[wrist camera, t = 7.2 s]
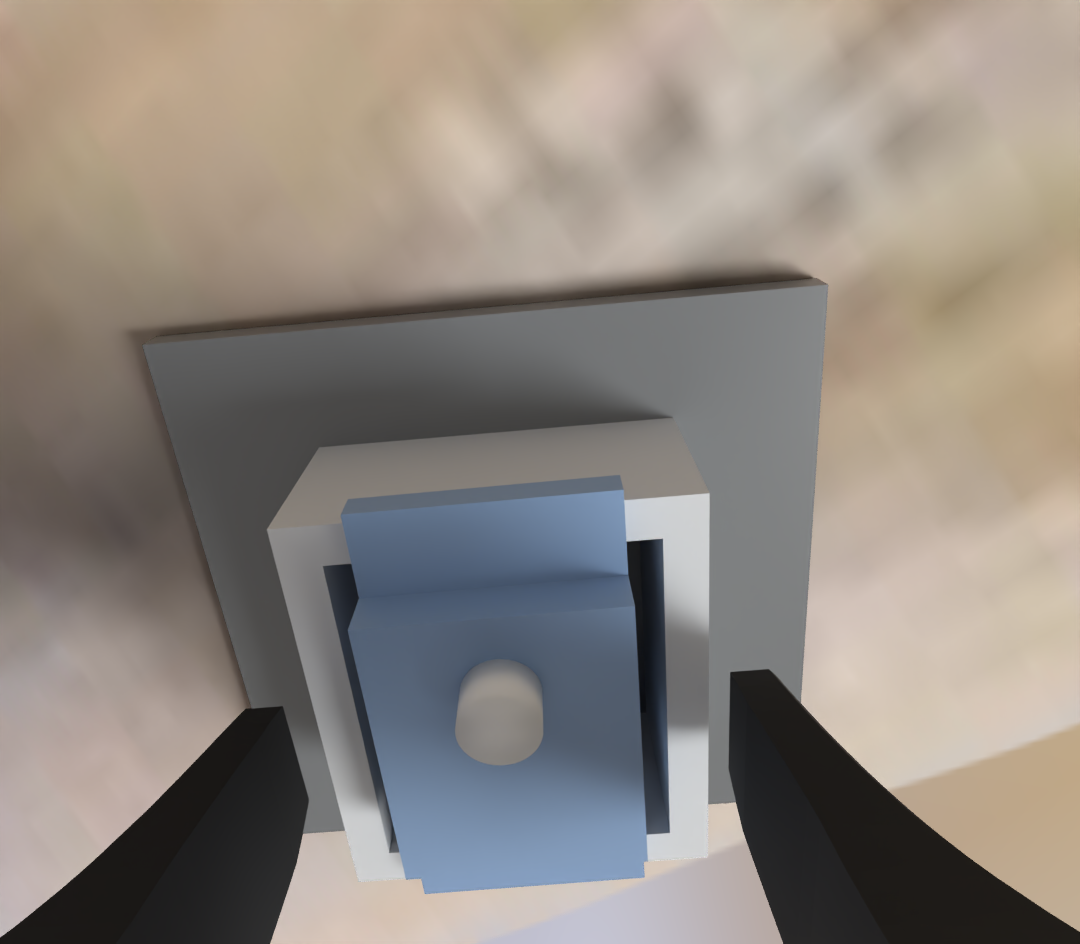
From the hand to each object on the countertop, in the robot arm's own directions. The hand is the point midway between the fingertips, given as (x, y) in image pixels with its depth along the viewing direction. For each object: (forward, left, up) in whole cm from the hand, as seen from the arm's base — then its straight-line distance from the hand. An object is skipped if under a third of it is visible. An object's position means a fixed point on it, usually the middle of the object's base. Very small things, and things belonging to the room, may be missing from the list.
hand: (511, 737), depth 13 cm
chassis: (0, 0, -4) cm, 4 cm away
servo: (0, 0, -4) cm, 4 cm away
